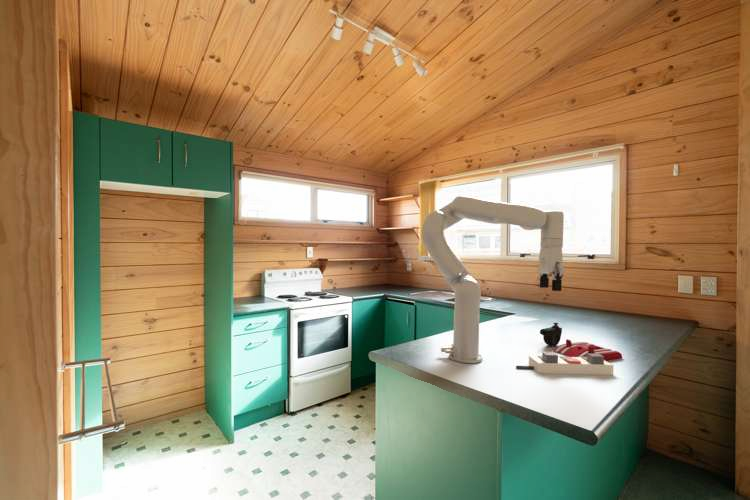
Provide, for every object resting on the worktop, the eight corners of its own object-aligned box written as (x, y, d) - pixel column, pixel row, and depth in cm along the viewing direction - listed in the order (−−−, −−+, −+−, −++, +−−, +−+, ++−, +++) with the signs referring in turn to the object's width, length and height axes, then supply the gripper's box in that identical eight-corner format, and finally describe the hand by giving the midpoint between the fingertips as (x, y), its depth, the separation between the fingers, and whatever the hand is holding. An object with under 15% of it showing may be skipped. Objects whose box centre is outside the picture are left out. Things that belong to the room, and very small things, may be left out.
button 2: (569, 370, 125) (569, 361, 125) (564, 366, 128) (564, 358, 128) (580, 370, 125) (580, 361, 125) (575, 367, 128) (575, 358, 128)
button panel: (520, 372, 125) (521, 361, 125) (512, 364, 133) (512, 354, 133) (613, 375, 124) (613, 364, 124) (599, 367, 132) (599, 356, 132)
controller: (563, 345, 161) (564, 323, 161) (547, 349, 154) (547, 326, 154) (554, 343, 165) (554, 321, 164) (537, 346, 158) (538, 324, 158)
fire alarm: (552, 338, 151) (586, 335, 158) (552, 352, 151) (585, 348, 159) (588, 349, 136) (623, 345, 144) (587, 365, 136) (622, 359, 144)
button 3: (592, 365, 125) (592, 356, 125) (586, 362, 128) (587, 353, 128) (603, 365, 125) (604, 356, 125) (598, 362, 128) (598, 353, 128)
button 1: (546, 364, 125) (546, 355, 125) (542, 361, 129) (542, 352, 128) (557, 364, 125) (558, 355, 125) (553, 361, 128) (553, 352, 128)
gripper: (531, 243, 143) (530, 286, 143) (552, 243, 125) (551, 292, 126) (550, 243, 143) (549, 286, 143) (574, 243, 125) (572, 292, 126)
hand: (550, 289), depth 134 cm, fingers open, 9 cm apart
